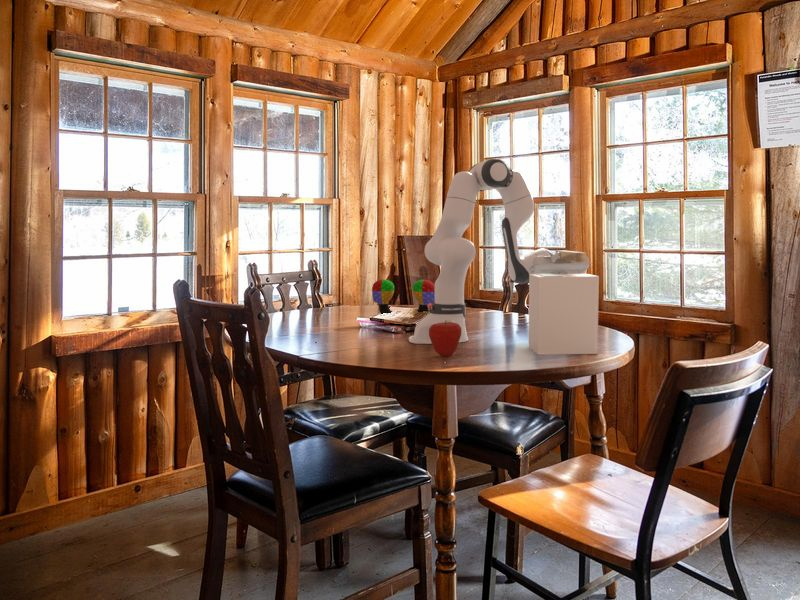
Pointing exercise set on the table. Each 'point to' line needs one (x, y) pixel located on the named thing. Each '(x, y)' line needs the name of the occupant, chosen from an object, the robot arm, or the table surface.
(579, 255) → the tan rectangular block
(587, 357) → the table surface
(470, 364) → the table surface
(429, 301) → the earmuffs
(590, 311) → the white cardboard box
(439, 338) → the apple
